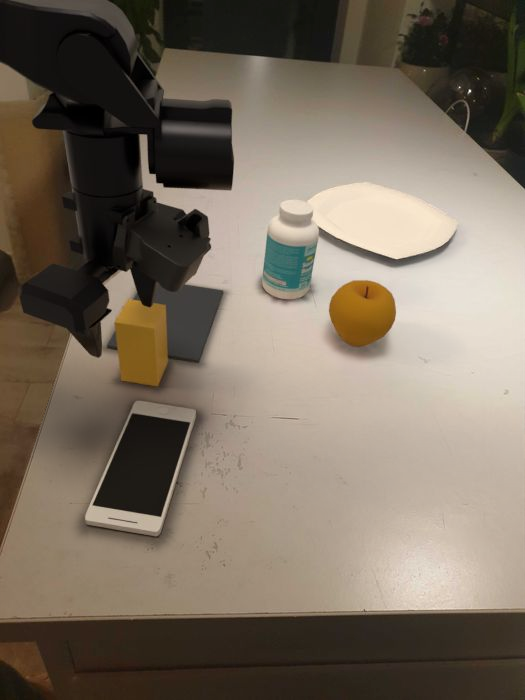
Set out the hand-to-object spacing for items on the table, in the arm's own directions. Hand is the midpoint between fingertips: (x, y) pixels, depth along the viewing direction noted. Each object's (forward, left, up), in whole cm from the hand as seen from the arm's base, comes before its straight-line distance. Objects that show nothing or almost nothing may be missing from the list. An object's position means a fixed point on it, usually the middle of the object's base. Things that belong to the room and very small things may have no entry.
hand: (123, 329), depth 54 cm
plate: (+30, +54, -11) cm, 63 cm away
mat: (0, +16, -11) cm, 20 cm away
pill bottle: (+15, +28, -11) cm, 34 cm away
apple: (+26, +18, -11) cm, 34 cm away
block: (0, +5, -11) cm, 12 cm away
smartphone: (+4, -8, -11) cm, 14 cm away
